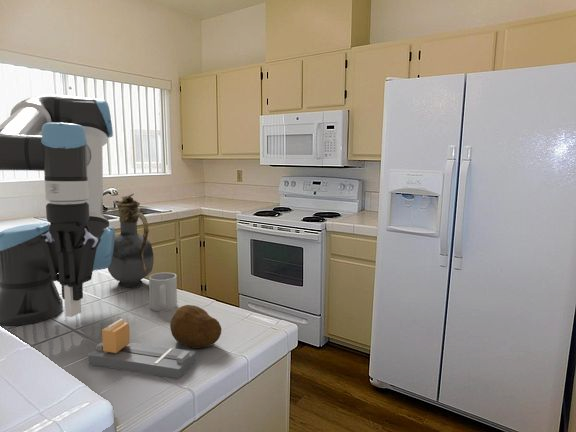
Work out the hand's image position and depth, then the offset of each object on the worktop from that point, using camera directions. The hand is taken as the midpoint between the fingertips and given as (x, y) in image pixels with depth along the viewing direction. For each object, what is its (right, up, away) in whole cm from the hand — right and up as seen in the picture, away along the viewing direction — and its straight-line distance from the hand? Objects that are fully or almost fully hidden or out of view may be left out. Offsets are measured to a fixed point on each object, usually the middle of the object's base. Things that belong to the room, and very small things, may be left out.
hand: (73, 314), depth 80 cm
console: (+15, -9, -2) cm, 18 cm away
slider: (+9, -7, -1) cm, 12 cm away
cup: (+10, -5, +26) cm, 29 cm away
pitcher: (-5, -2, +44) cm, 44 cm away
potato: (+23, -9, +7) cm, 26 cm away
